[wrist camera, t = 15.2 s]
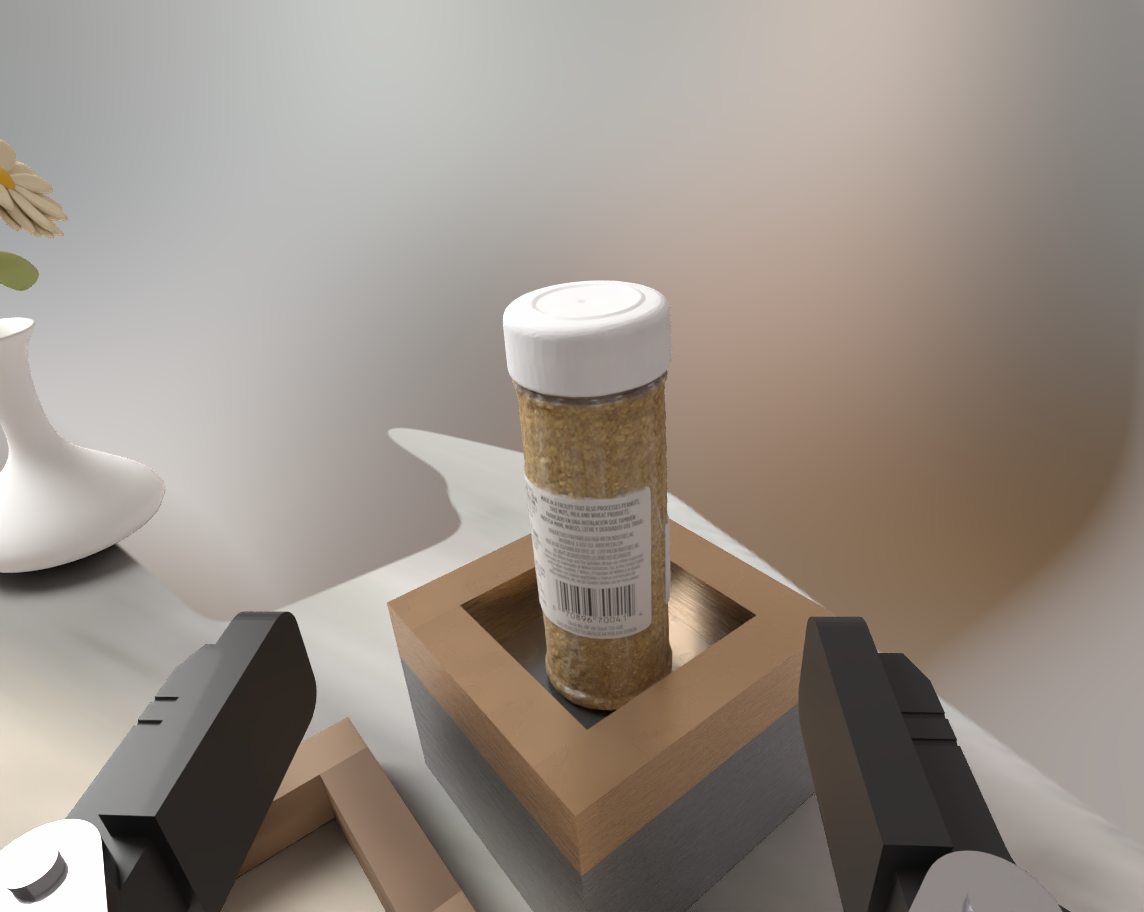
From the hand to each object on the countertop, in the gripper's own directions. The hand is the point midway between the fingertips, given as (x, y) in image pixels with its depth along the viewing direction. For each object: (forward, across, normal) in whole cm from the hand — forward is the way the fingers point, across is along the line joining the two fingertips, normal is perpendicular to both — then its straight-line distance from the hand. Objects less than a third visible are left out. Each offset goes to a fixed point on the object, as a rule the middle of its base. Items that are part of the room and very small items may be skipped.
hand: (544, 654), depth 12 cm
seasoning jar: (+11, 0, +11) cm, 16 cm away
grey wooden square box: (+11, 0, +17) cm, 20 cm away
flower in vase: (+29, +35, +18) cm, 49 cm away
